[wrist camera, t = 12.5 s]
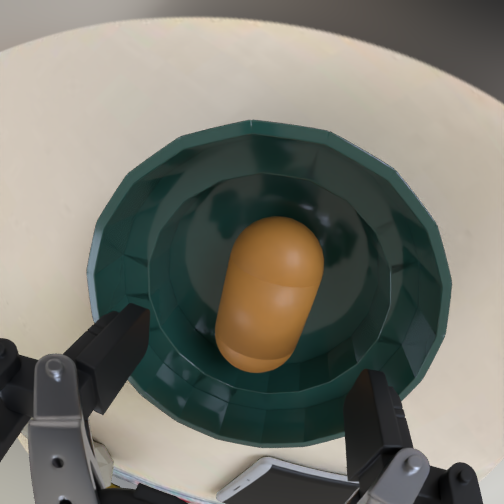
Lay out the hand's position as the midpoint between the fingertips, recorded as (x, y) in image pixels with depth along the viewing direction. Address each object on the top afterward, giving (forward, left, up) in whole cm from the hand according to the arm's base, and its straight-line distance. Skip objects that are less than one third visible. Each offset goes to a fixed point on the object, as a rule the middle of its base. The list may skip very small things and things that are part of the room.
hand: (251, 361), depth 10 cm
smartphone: (+15, +27, -8) cm, 32 cm away
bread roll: (0, 0, -7) cm, 7 cm away
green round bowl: (0, 0, -8) cm, 8 cm away
